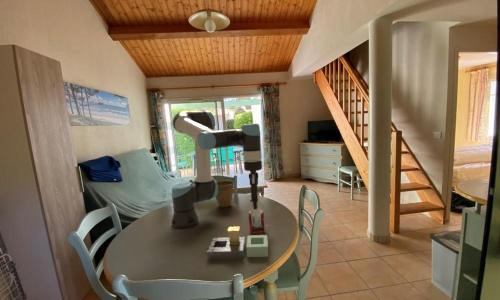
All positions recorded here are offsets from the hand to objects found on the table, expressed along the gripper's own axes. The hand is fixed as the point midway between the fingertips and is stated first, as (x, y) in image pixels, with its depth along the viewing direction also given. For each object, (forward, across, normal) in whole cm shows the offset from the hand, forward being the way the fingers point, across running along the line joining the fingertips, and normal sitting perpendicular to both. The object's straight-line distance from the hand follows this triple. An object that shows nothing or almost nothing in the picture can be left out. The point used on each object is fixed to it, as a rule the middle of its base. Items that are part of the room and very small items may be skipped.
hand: (255, 213), depth 102 cm
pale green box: (+17, 0, 0) cm, 17 cm away
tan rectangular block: (+17, 0, -10) cm, 20 cm away
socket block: (+17, 0, -14) cm, 22 cm away
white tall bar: (+5, 0, 0) cm, 5 cm away
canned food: (+17, -18, -1) cm, 25 cm away
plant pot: (+17, -58, -24) cm, 65 cm away
